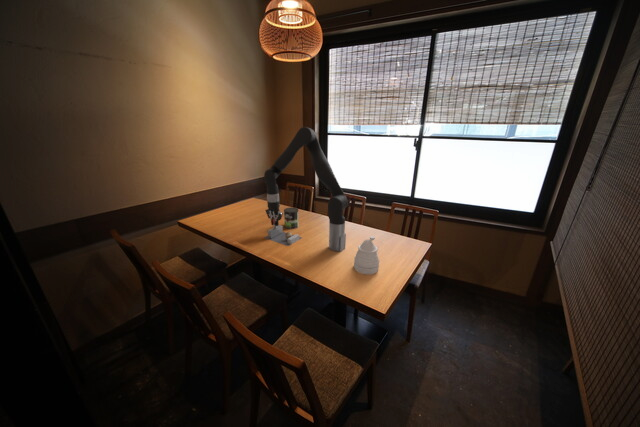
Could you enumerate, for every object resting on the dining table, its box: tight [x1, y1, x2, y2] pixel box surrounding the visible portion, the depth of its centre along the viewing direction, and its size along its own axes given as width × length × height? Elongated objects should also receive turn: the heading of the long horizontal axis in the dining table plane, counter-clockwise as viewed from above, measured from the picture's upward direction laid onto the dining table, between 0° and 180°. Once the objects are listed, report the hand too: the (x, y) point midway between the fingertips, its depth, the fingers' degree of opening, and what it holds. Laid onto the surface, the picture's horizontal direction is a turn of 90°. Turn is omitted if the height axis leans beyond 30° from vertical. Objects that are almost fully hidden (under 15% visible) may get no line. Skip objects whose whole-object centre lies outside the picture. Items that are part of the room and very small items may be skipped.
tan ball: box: [285, 231, 293, 238], centre depth 158 cm, size 4×4×4 cm
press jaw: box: [267, 218, 284, 238], centre depth 163 cm, size 3×11×12 cm, turn 146°
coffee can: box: [283, 206, 300, 230], centre depth 178 cm, size 10×10×14 cm
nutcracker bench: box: [263, 231, 302, 247], centre depth 162 cm, size 21×14×4 cm, turn 56°
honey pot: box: [353, 235, 380, 275], centre depth 129 cm, size 13×13×18 cm
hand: (274, 225), depth 163 cm, fingers closed on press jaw, 2 cm apart
